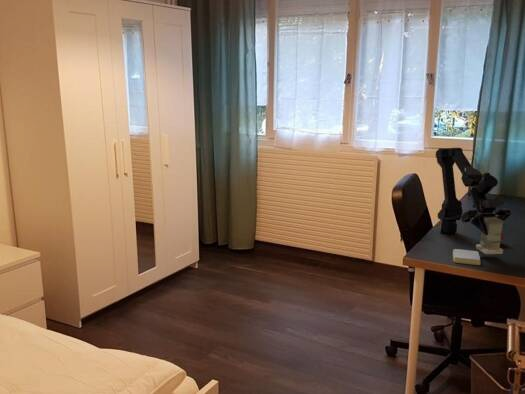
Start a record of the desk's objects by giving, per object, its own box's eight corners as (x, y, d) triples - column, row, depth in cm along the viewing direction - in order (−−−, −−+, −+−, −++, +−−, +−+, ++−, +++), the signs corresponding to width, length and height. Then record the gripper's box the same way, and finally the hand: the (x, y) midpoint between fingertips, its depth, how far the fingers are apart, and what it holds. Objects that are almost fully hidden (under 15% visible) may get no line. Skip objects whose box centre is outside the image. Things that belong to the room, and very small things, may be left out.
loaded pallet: (475, 248, 196) (479, 217, 192) (492, 247, 197) (496, 216, 193) (486, 254, 189) (490, 222, 186) (502, 253, 190) (507, 221, 187)
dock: (453, 262, 188) (454, 257, 187) (452, 253, 197) (453, 248, 197) (480, 265, 185) (480, 260, 184) (477, 256, 194) (478, 251, 194)
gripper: (468, 190, 189) (481, 226, 181) (512, 189, 192) (527, 224, 184) (455, 204, 199) (467, 239, 191) (497, 203, 201) (511, 237, 194)
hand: (493, 234), depth 190 cm, fingers closed on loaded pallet, 5 cm apart
